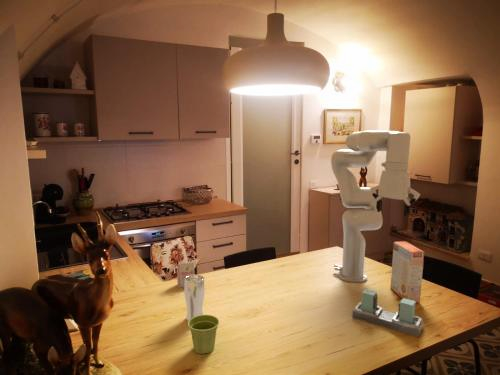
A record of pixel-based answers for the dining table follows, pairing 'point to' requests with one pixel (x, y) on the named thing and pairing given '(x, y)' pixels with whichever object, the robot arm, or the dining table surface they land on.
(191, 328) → the plant pot
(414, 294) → the cracker box
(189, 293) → the beer glass
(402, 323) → the grey compartment tray
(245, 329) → the dining table surface
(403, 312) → the pale teal block
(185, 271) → the tea bag
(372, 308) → the teal rectangular block
